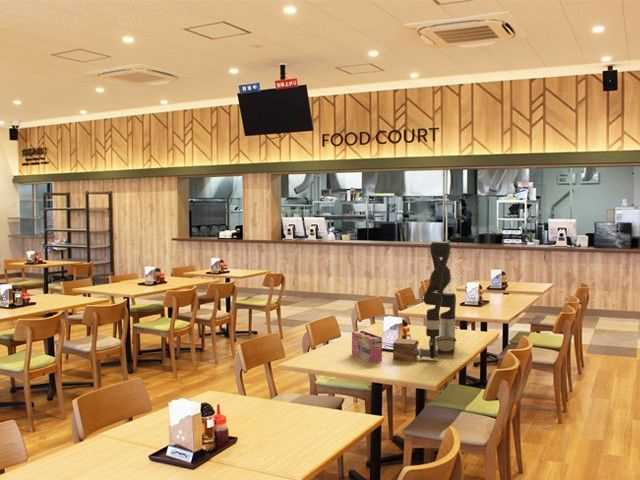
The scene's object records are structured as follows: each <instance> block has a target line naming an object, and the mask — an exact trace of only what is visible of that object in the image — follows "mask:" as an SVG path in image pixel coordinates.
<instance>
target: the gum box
mask: <svg viewBox="0 0 640 480" xmlns="http://www.w3.org/2000/svg"><path fill="white" fill-rule="evenodd" d="M351 332H352V333H351V355H352V356H355V357H357V358H359V359H361V360H363V361H365V362H367V363H368V362H369V363H378V362H382V361H383V337H381V336H379V335H376V334H372V333H370V332H367V331H364V330H360V331H359V332H358V331H357V332H356V331H355V332H354V331H351Z"/></svg>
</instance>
